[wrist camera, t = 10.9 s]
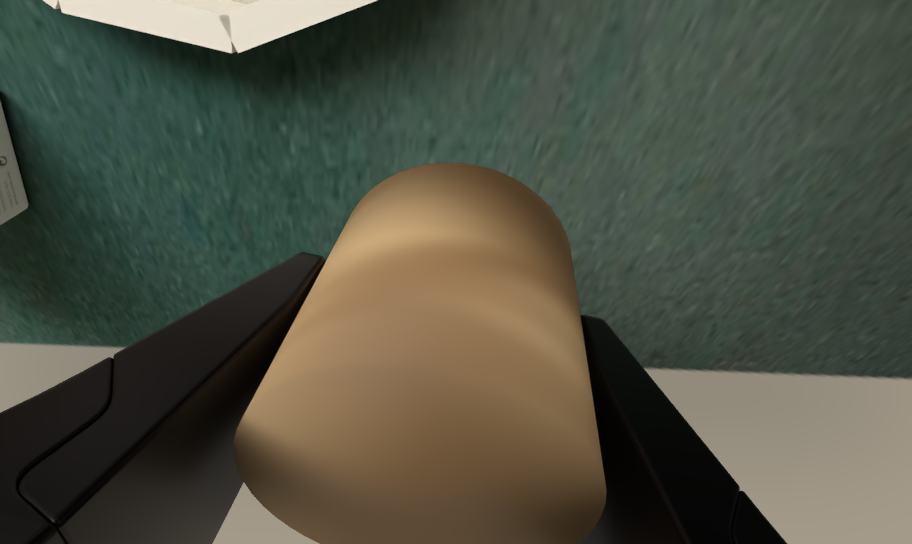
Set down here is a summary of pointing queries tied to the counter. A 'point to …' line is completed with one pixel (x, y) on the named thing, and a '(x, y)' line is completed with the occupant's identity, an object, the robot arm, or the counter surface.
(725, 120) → the counter surface
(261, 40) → the tray
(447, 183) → the bead
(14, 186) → the small box
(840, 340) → the counter surface
